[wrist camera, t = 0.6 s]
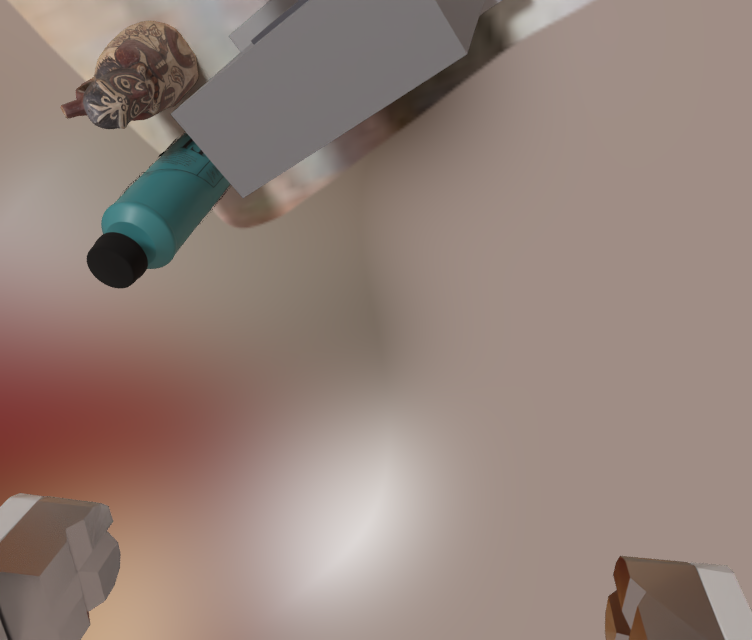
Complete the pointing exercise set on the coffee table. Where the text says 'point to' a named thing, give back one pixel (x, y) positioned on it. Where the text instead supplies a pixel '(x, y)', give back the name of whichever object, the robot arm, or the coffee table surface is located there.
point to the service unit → (318, 77)
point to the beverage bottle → (156, 214)
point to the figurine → (136, 76)
